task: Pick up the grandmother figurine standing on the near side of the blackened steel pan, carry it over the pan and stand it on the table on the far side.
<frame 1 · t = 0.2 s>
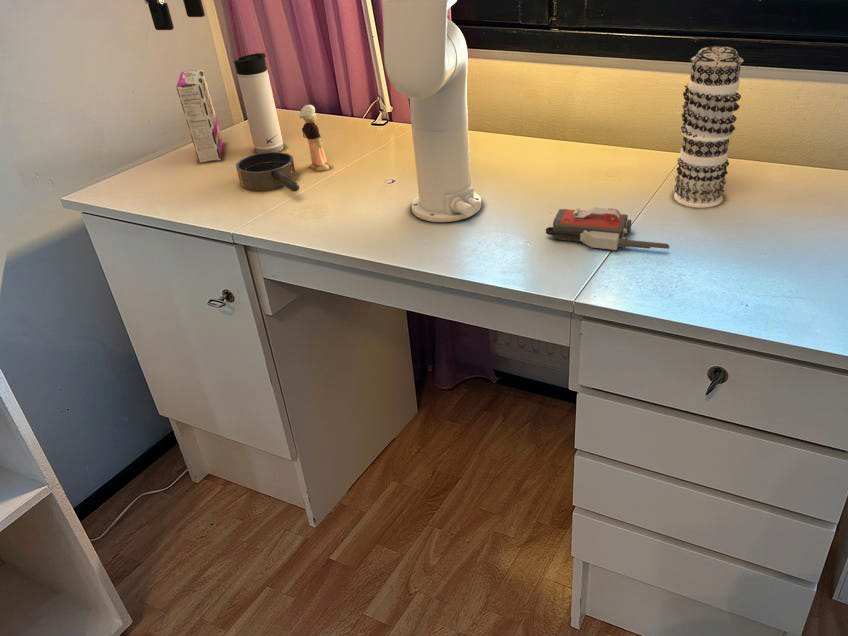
hand: (181, 22, 124), 31 cm above the table, tool pointing down, fingers open, 9 cm apart
white patterned cylinder: (697, 198, 130), on the table
candy bar box: (211, 154, 161), on the table
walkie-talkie: (608, 240, 119), on the table
travel mug: (270, 150, 162), on the table
pan: (269, 181, 147), on the table
grandmother figurine: (318, 167, 152), on the table
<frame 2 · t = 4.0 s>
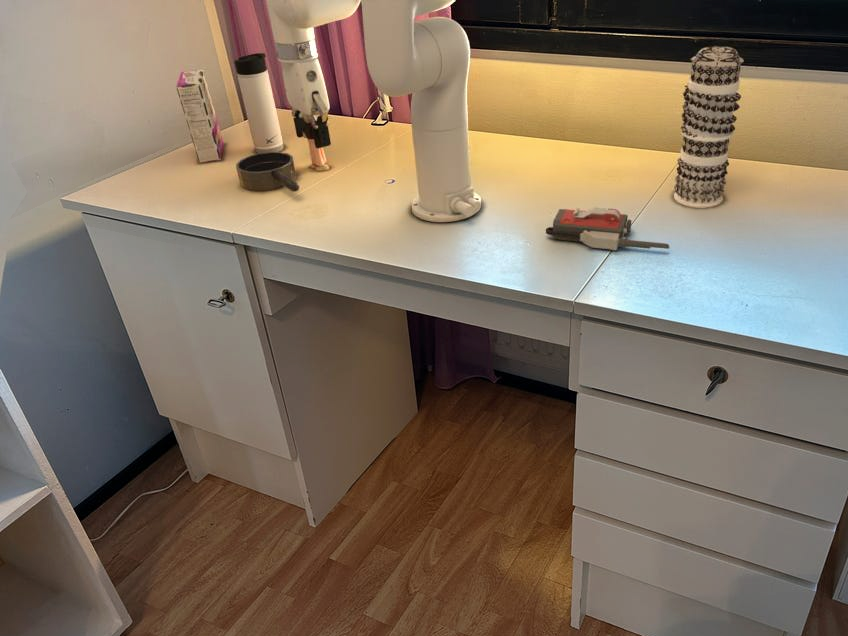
hand: (313, 140, 148), 6 cm above the table, tool pointing down, fingers closed on grandmother figurine, 8 cm apart
grandmother figurine: (318, 167, 152), on the table, touching gripper
everything else where it was.
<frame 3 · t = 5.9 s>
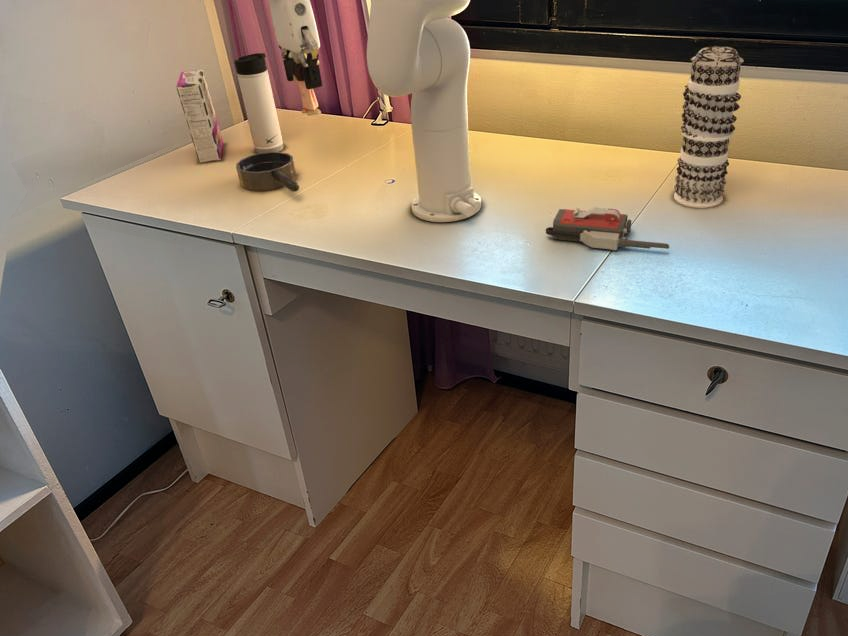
hand: (304, 83, 141), 17 cm above the table, tool pointing down, fingers closed on grandmother figurine, 8 cm apart
grandmother figurine: (310, 113, 145), point 11 cm above the table, touching gripper
everything else where it was.
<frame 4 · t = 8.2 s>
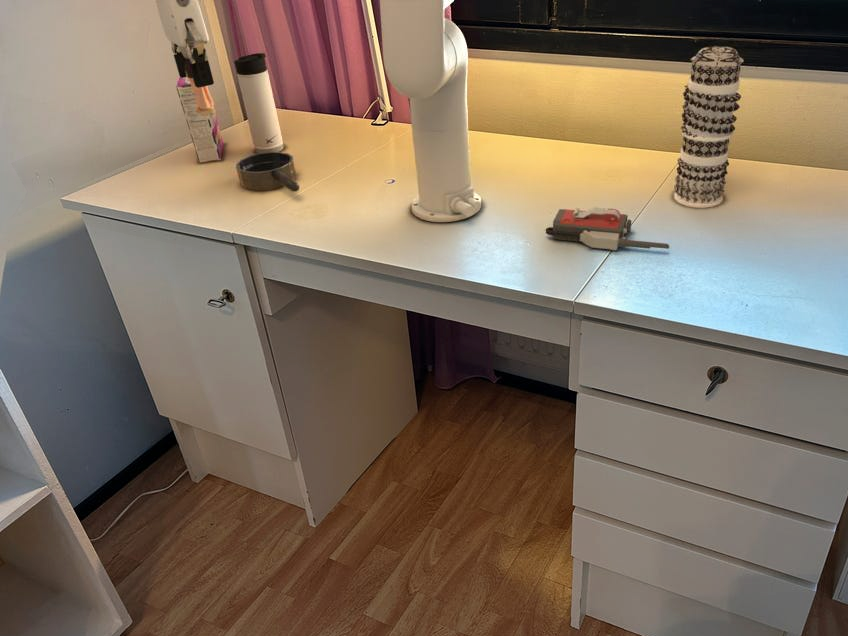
hand: (196, 80, 130), 21 cm above the table, tool pointing down, fingers closed on grandmother figurine, 8 cm apart
grandmother figurine: (205, 112, 134), point 16 cm above the table, touching gripper
everything else where it was.
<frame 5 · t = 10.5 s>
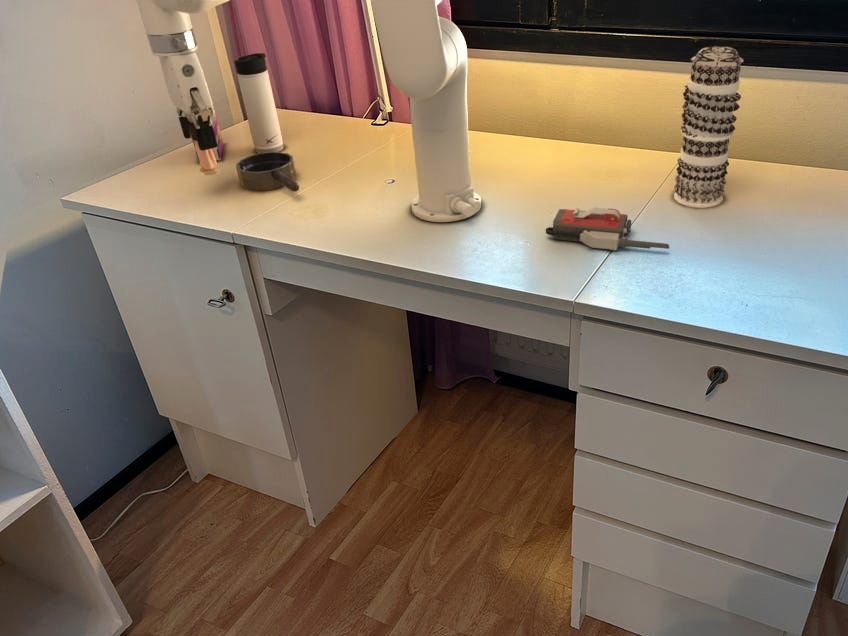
hand: (200, 142, 135), 11 cm above the table, tool pointing down, fingers closed on grandmother figurine, 8 cm apart
grandmother figurine: (209, 171, 139), point 5 cm above the table, touching gripper
everything else where it was.
when the fingers open (6 cm above the table, at t = 12.4 s): grandmother figurine stays where it is, on the table.
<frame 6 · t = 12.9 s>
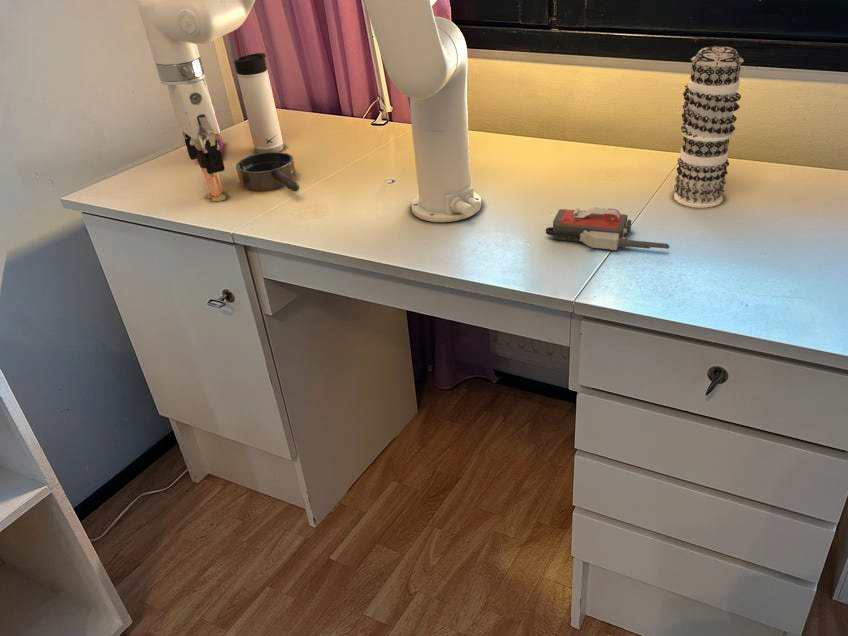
hand: (207, 164, 138), 6 cm above the table, tool pointing down, fingers open, 9 cm apart
grandmother figurine: (216, 197, 142), on the table
everything else where it was.
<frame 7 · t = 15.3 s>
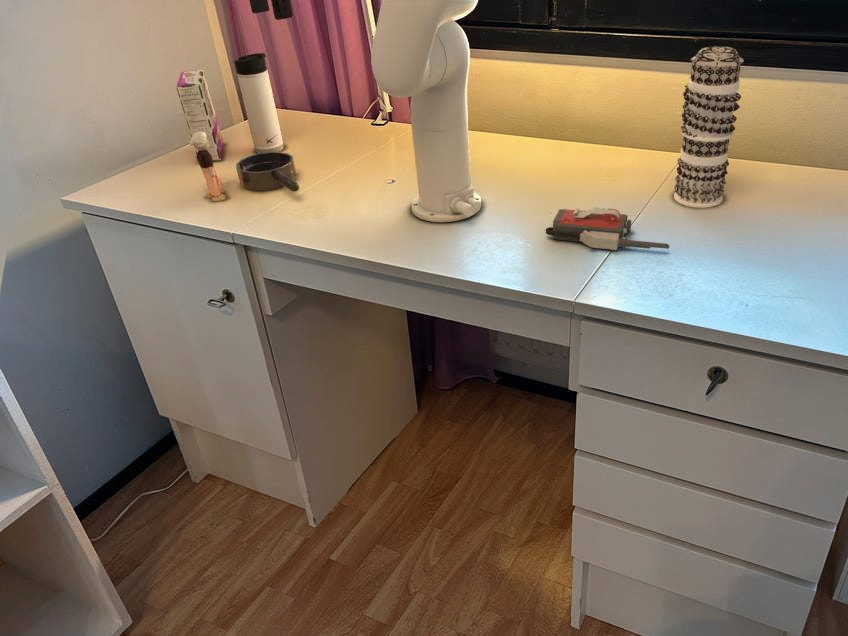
hand: (272, 15, 131), 30 cm above the table, tool pointing down, fingers open, 9 cm apart
nothing on the table moved.
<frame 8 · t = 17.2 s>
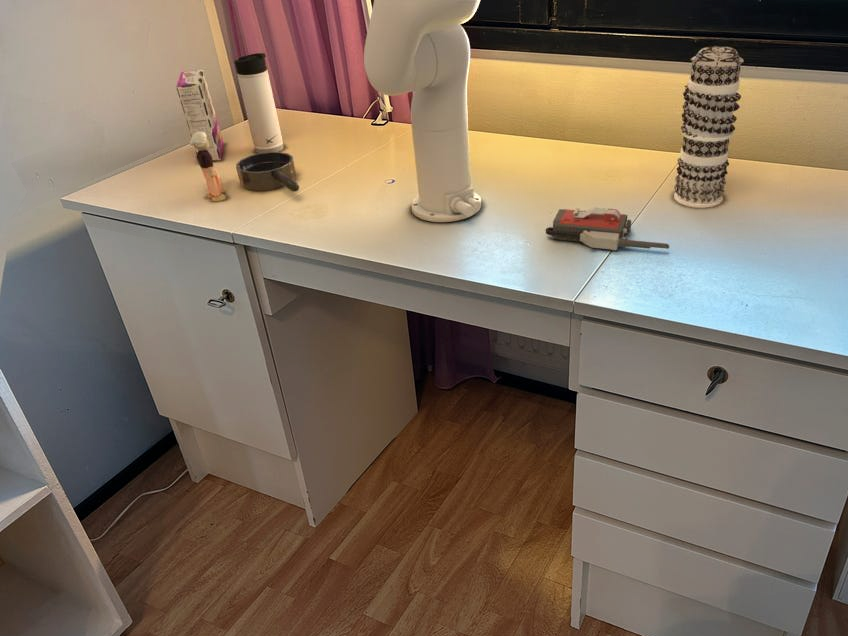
nothing on the table moved.
at the end: grandmother figurine inside the target area (0.8 cm from its centre), on the table; grandmother figurine tilted 0°; grandmother figurine touching table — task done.
